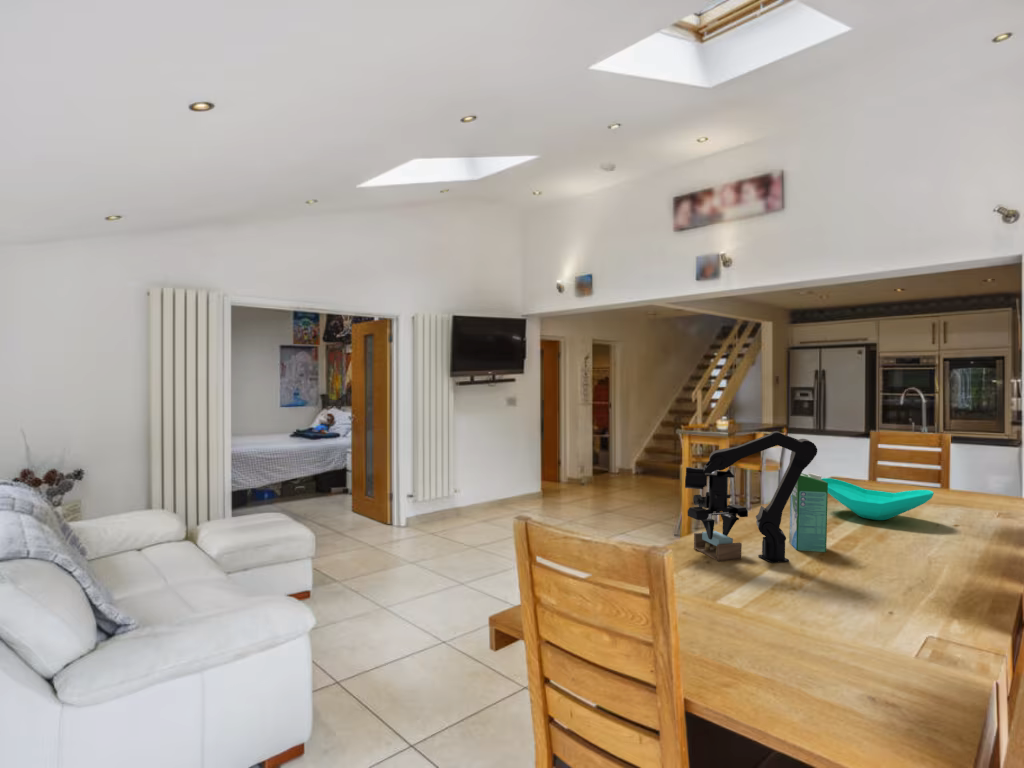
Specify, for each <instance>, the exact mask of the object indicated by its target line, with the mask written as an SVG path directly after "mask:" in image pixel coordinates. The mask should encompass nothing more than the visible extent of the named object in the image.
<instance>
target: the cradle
mask: <svg viewBox="0 0 1024 768" xmlns="http://www.w3.org/2000/svg"><path fill="white" fill-rule="evenodd" d="M693 535H694V536H693V549H694V548H695V549H694V550H696V549H697V550H696V551H698V552H700V553H702V554H704V555H706V556H708V557H710V558H712V559H714V560H715V561H717V562H727V561H738V560H742V542H733V543H727V544H717V546H715V545H713V544H711V543H709V542H707V541H705V540H703V539H702V532H694V534H693Z"/></svg>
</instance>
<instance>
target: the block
mask: <svg viewBox="0 0 1024 768" xmlns="http://www.w3.org/2000/svg"><path fill="white" fill-rule="evenodd" d="M701 533H702V539H703V540H705V541H707V542H709V543H711V544H713V545H715V546H717V544H727V543H734V538H733V537H730V536H729V535H728V536H726V535H723V533H722V532H718V531H717V530H713V536H712V540H710V539H709V538H708V535H707V532H706V531H702V532H701Z"/></svg>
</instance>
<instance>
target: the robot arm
mask: <svg viewBox="0 0 1024 768" xmlns="http://www.w3.org/2000/svg"><path fill="white" fill-rule="evenodd" d="M776 446H779V447H782V448H784V449H786V450H789V451H791V453H790V457H789V462H788V466H787V468H786V469H785V471H784V474H783V476H782V477H781V479H780V482H779V484H778V486H777V488H776V490H775V492H774V494H773V495H772V499H771V500H770V502H769V503H768V505H767V506H766V507H764V506H763V505H760V507H759V512H758V513H757V514H756V515H755V518H756V526H757V528H758V530H759V532H760V534H761V535H762V543H761V554H758V555H757V556H758V558H760V559H763V560H765V561H768V562H770V563H771V564H773V563H774V564H776V563H785V562H790V559H789V558H786V541H787V537H786V535H785V533H784V531H783V530H782V528H780V525H781V524H782V523H781V522H782V515H783V512H784V509H785V507H786V505H787V502H788V501H789V500H790V495H791V493H792V491H793V489H794V487H795V485H796V483H797V481H798V479H799V477H800V475H801V473H803V471H805V469H806V468H807V467H808V466H809V465H810V464H811V463H812V461H813V460H814V458H816V456H817V454H818V448H817V446H816V444H815V443H814V442H812V441H811V440H809V439H806V438H799V439H797V438H794V437H792V436H789V435H786V434H784V433H781V432H780V431H778V430H776V431H772V432H770V433H769V434H766V435H764V436H760V437H758V438H756V439H752V440H751V441H747V442H745V443H743V444H740V445H736V446H734V447H727V448H721V449H715V450H713V451H712V452H711V453H710V454H709V458H708V461H707V462H706V464H705V465H703V467H691V466H686V467H685V477H684V489H693V490H703V489H704V488H706V487H707V485H708V491H706V493H705V496H702V495H701V494H694V495H693V500H692V501H693V505H695V506H692V507H689V508H688V509H687V517H690V518H693V519H695V520H697V521H701V522H702V524H703V526H704V527H703V528H704V530H705V532H707V535H708V538H709V539H710V540H712V536H713V531H714V529H715V523H716V522H715V521H716V520H715V519H713V516H721V519H722V534H723V535H726V536H728V537H729V534H730V532H731V530H732V528H733V527H734V525H735V523H736V522H737V521H739V520H740V518H748V517H749V510H748V508H747V507H745V506H743V505H739V504H728V499H731V494H729V492H728V491H729V488H728V487H729V478H731V479H733V478H735V474H734V473H733V472H732V471H731V470H730V468H729V467H731V466H732V465H734V464H735V463H737V462H738V461H741V460H742V459H744V458H747V457H749V456H752V455H755V454H757V453H760V452H763V451H765V450H769V449H770V448H773V447H776ZM727 468H728V469H727ZM707 481H708V482H707ZM737 516H738V517H737Z"/></svg>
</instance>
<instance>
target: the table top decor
mask: <svg viewBox="0 0 1024 768" xmlns="http://www.w3.org/2000/svg"><path fill="white" fill-rule="evenodd" d="M821 479H822V480H823V481H825V482H827V483H828V494H829V495H830V496H831V497H832V498H833V499H834V500H836V501H838V502H839V503H840V504H841V505H843V506H844V507H845V508H847V509H848V510H850V511H851V512H852V513H854V514H856V515H857V516H859V517H861V518H863V519H867V520H871V521H872V520H873V521H885V520H889V519H892V518H894V517H897V516H900V515H902V514H904V513H906V512H909V511H911V510H913V509H915V508H918V507H920V506H921V505H924V504H926V503H927V502H929V501H930V500H931V499H932V498H933V496H934V495H935V494H934V491H933V490H930V489H913V490H904V491H899V492H890V491H889V492H888V491H881V490H873V489H866V488H863V487H861V486H858V485H856V484H853V483H850V482H846V481H844V480H841V479H835V478H830V477H827V478H826V477H821Z"/></svg>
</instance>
